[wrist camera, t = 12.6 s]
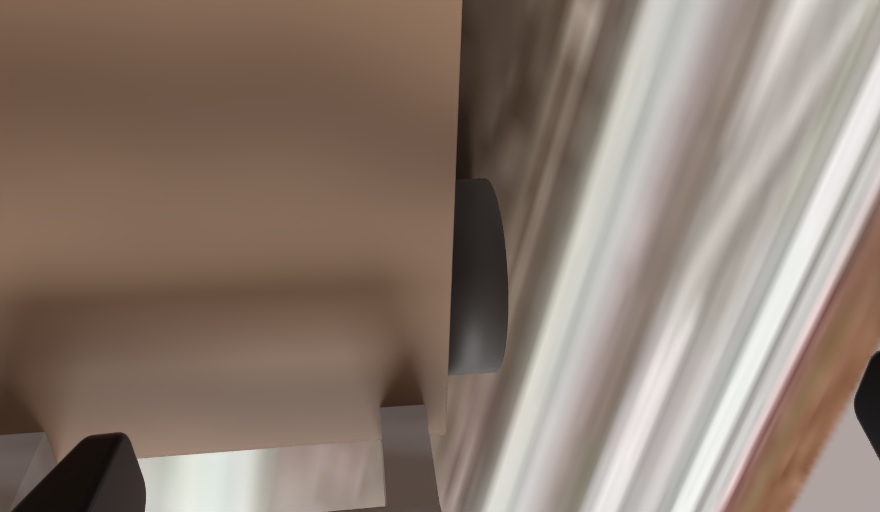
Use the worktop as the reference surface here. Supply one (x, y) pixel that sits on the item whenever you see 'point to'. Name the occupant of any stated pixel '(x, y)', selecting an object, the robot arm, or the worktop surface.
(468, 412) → the worktop surface
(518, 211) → the worktop surface
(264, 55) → the trolley
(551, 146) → the worktop surface
